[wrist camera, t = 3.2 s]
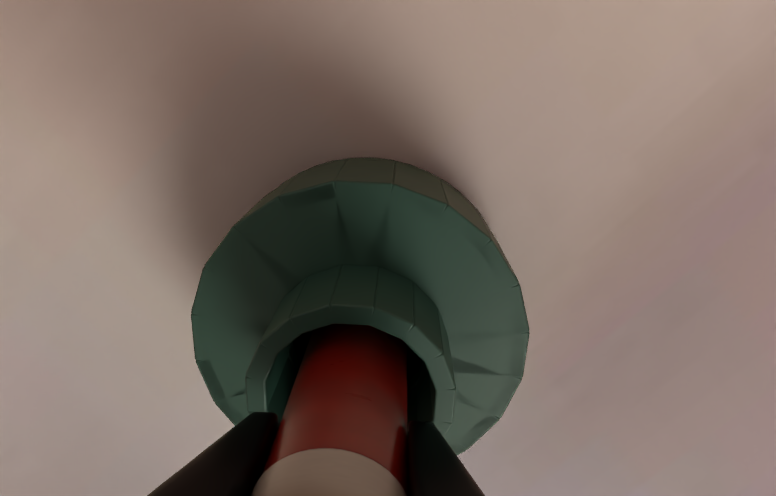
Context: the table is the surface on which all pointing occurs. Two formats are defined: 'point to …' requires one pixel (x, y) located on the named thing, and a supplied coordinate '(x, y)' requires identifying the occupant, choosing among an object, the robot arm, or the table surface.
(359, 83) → the table surface
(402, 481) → the capped glue stick
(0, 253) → the table surface
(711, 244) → the table surface
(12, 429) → the table surface
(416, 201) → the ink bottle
